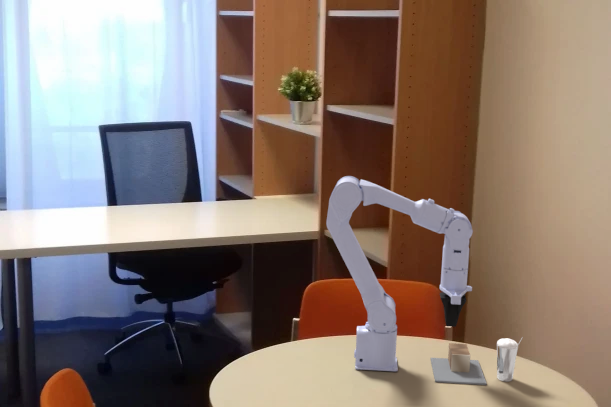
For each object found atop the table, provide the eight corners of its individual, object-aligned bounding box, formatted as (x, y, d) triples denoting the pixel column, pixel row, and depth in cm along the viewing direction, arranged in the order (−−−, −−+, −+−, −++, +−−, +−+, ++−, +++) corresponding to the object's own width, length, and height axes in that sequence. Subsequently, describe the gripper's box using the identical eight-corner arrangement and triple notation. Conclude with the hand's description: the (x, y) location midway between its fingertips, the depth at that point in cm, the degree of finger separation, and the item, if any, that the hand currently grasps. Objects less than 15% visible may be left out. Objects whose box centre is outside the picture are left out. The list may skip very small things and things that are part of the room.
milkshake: (520, 384, 159) (523, 340, 157) (494, 381, 160) (498, 338, 159) (518, 376, 164) (521, 333, 162) (493, 373, 165) (496, 331, 163)
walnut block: (452, 354, 164) (449, 343, 171) (451, 371, 164) (448, 359, 171) (470, 355, 163) (466, 344, 170) (469, 372, 164) (465, 360, 171)
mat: (435, 382, 159) (435, 380, 159) (430, 359, 172) (430, 357, 172) (486, 385, 158) (486, 383, 158) (478, 361, 171) (478, 360, 171)
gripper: (477, 277, 155) (472, 338, 157) (469, 259, 169) (465, 316, 172) (443, 275, 156) (439, 335, 158) (438, 258, 170) (435, 314, 172)
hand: (450, 325), depth 165 cm, fingers closed
